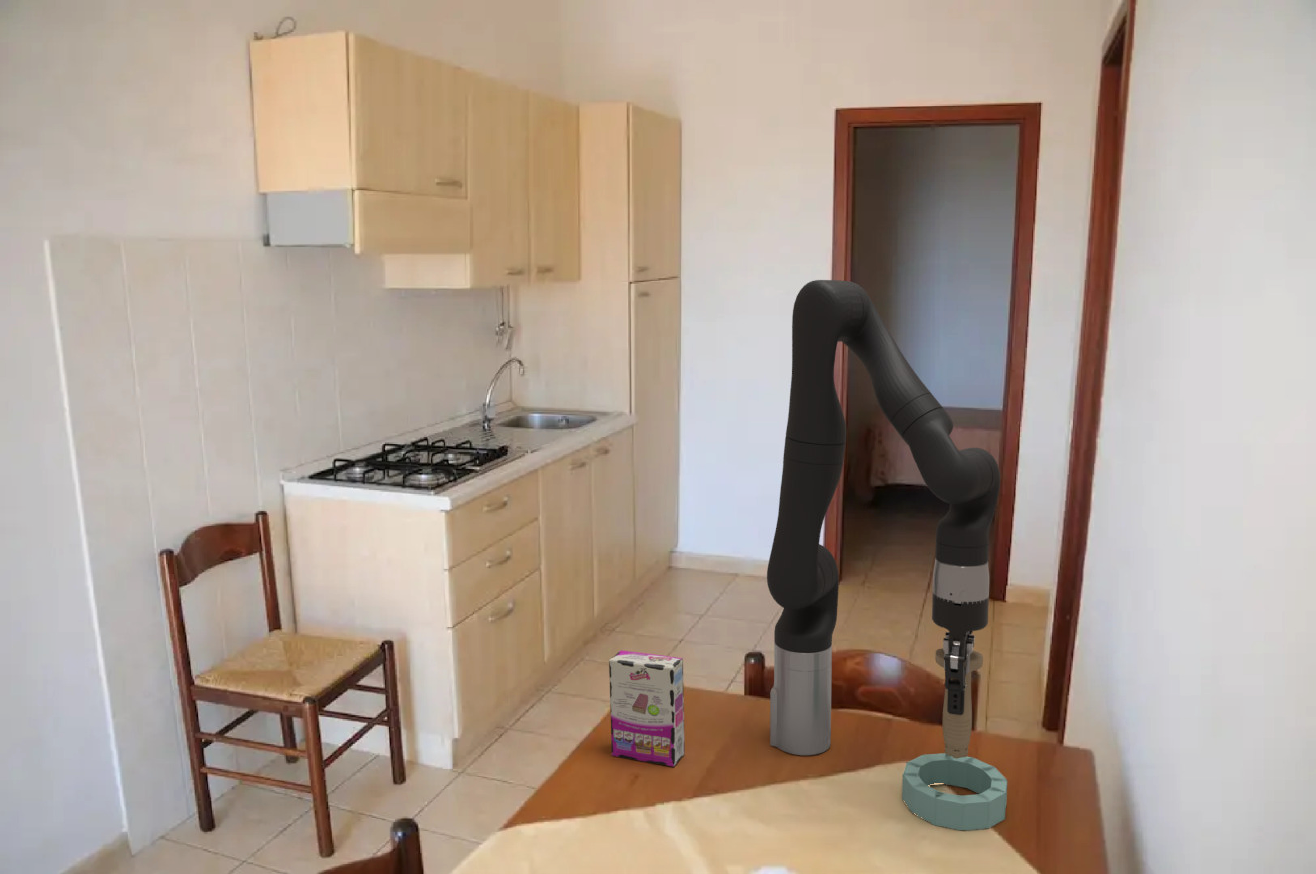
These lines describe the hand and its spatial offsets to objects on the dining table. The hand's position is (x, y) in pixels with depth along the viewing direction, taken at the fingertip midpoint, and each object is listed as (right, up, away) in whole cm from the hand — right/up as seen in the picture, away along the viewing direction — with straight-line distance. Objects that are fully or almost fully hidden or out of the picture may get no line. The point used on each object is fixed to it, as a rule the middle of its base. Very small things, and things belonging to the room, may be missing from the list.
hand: (957, 707), depth 135 cm
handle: (0, -7, +1) cm, 7 cm away
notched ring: (0, -15, +2) cm, 15 cm away
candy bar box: (-44, -13, +18) cm, 49 cm away
